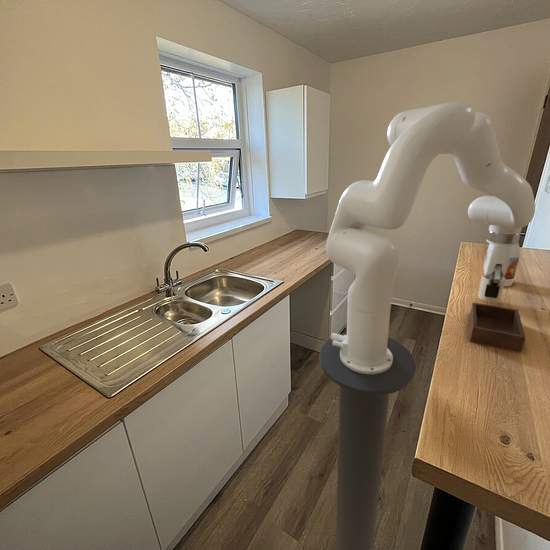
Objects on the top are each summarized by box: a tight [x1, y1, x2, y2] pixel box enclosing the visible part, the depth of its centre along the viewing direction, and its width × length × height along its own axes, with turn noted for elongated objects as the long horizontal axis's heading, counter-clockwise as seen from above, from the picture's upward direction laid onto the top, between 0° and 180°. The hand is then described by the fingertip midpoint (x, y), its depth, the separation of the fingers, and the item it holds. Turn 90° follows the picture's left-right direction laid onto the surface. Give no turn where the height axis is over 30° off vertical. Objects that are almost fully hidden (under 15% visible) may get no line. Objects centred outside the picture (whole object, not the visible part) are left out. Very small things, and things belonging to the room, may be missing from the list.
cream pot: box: [477, 273, 506, 303], centre depth 94 cm, size 6×6×7 cm
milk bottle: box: [504, 243, 521, 287], centre depth 104 cm, size 8×8×20 cm
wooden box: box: [469, 302, 526, 353], centre depth 81 cm, size 11×15×4 cm
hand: (490, 291), depth 94 cm, fingers closed on cream pot, 6 cm apart
